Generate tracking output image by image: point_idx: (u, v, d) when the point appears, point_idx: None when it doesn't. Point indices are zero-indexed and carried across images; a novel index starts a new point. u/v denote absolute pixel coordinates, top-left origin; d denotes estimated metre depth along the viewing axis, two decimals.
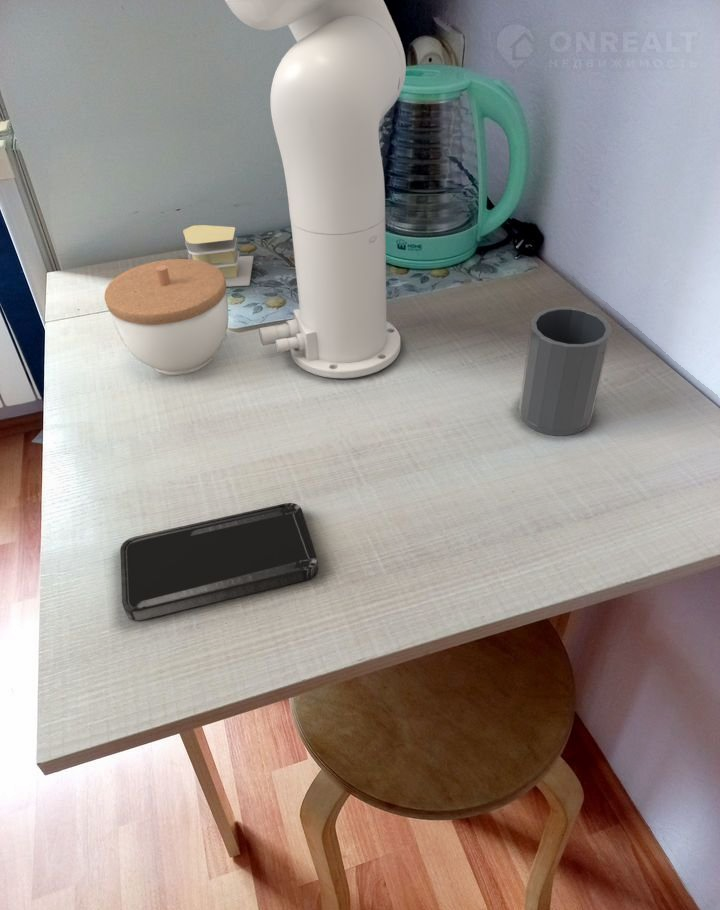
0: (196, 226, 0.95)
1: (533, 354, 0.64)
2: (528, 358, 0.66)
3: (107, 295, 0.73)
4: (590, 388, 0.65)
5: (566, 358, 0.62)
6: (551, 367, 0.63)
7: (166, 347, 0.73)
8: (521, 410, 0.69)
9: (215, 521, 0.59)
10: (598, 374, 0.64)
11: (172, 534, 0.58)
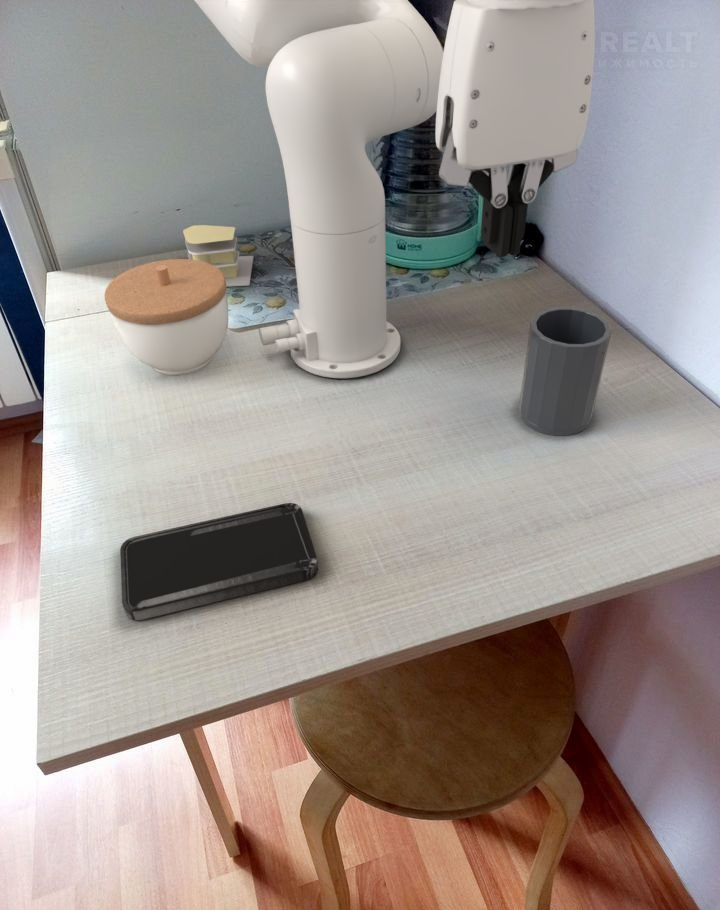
0: (196, 226, 0.95)
1: (533, 354, 0.64)
2: (528, 358, 0.66)
3: (107, 295, 0.73)
4: (590, 388, 0.65)
5: (566, 358, 0.62)
6: (551, 367, 0.63)
7: (166, 347, 0.73)
8: (521, 410, 0.69)
9: (215, 521, 0.59)
10: (598, 374, 0.64)
11: (172, 534, 0.58)
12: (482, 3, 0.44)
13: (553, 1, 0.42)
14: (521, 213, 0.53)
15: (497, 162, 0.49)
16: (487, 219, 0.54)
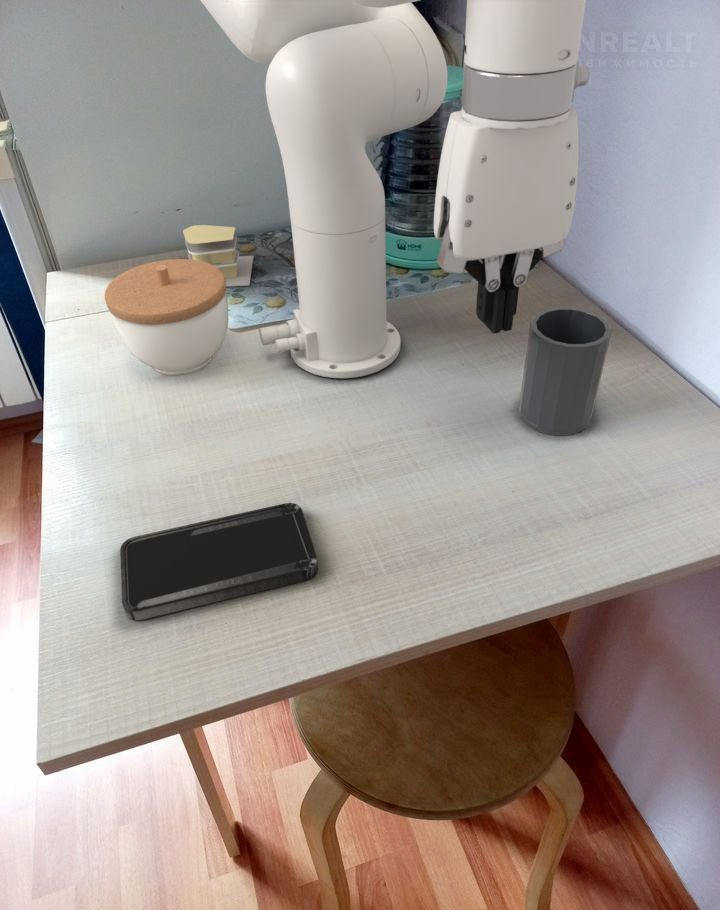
0: (196, 226, 0.95)
1: (533, 354, 0.64)
2: (528, 358, 0.66)
3: (107, 295, 0.73)
4: (590, 388, 0.65)
5: (566, 358, 0.62)
6: (551, 367, 0.63)
7: (166, 347, 0.73)
8: (521, 410, 0.69)
9: (215, 521, 0.59)
10: (598, 374, 0.64)
11: (172, 533, 0.58)
12: (475, 121, 0.48)
13: (539, 122, 0.47)
14: (513, 295, 0.58)
15: (490, 254, 0.54)
16: (482, 299, 0.59)
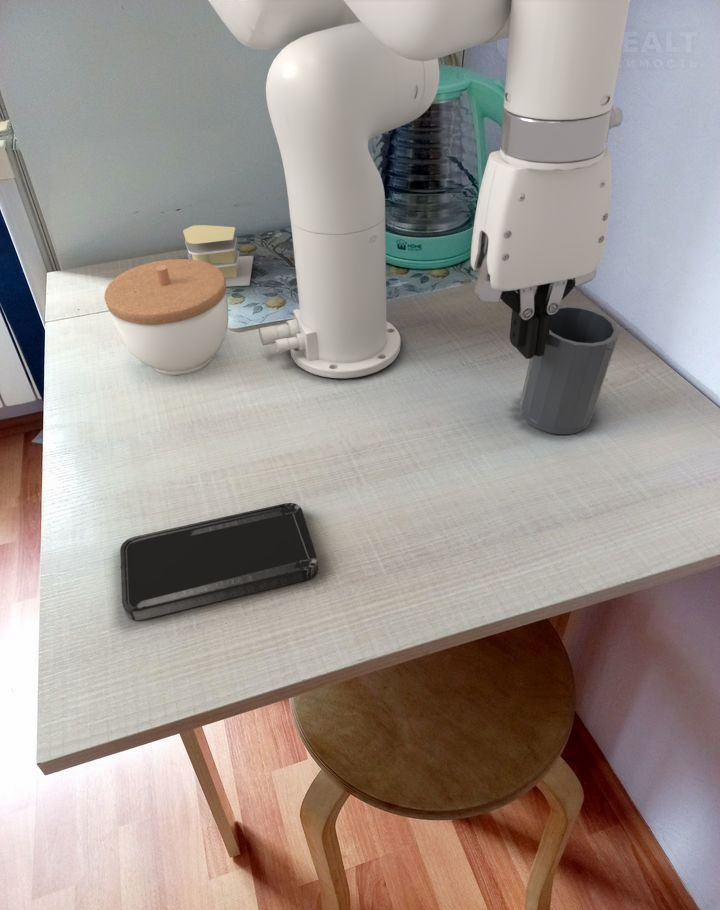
0: (196, 226, 0.95)
1: None
2: None
3: (107, 295, 0.73)
4: (594, 387, 0.65)
5: (574, 356, 0.62)
6: (558, 365, 0.63)
7: (166, 347, 0.73)
8: (522, 407, 0.69)
9: (215, 521, 0.59)
10: (603, 374, 0.64)
11: (172, 533, 0.58)
12: (514, 162, 0.51)
13: (576, 164, 0.49)
14: (546, 323, 0.60)
15: (526, 285, 0.56)
16: (515, 326, 0.61)
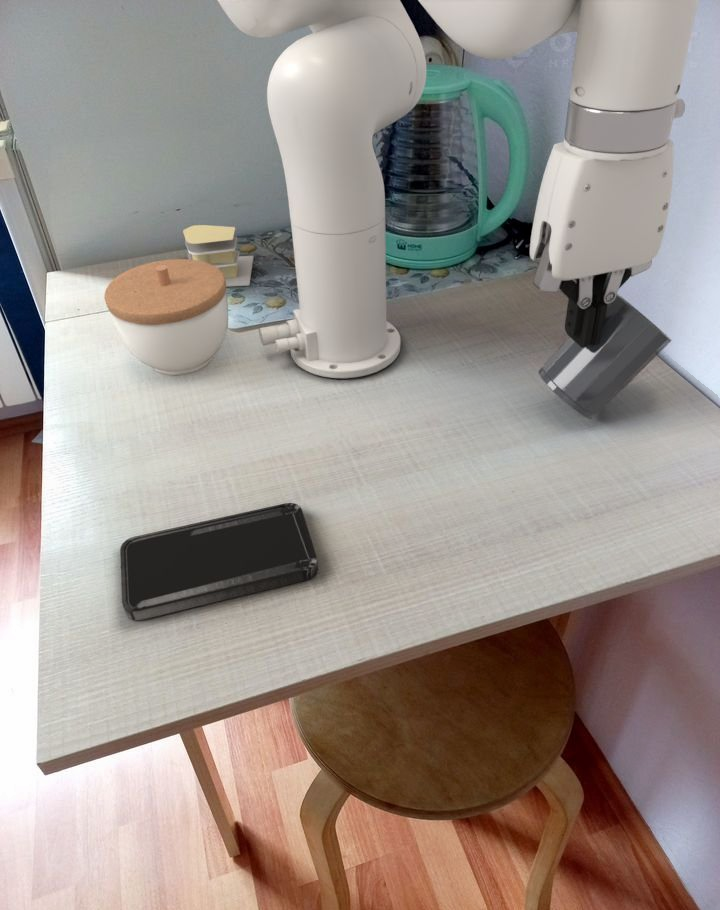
0: (196, 226, 0.95)
1: None
2: None
3: (107, 295, 0.73)
4: (629, 378, 0.65)
5: (639, 333, 0.62)
6: (619, 335, 0.63)
7: (166, 347, 0.73)
8: (548, 371, 0.67)
9: (215, 521, 0.59)
10: (640, 370, 0.66)
11: (171, 533, 0.58)
12: (580, 153, 0.52)
13: (643, 154, 0.50)
14: (603, 312, 0.61)
15: (586, 274, 0.58)
16: (572, 316, 0.62)
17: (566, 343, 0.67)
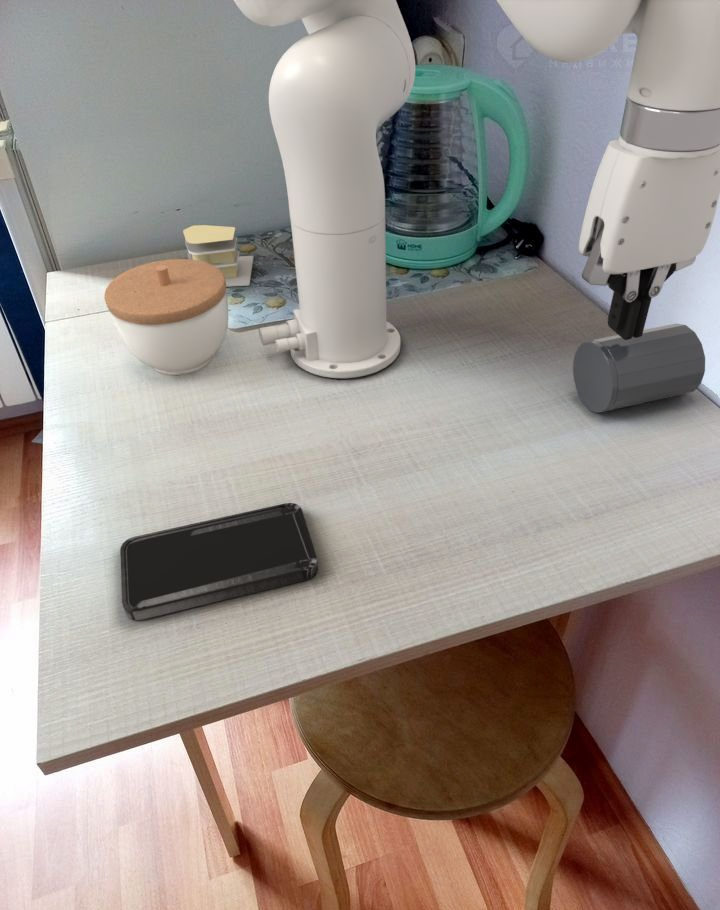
0: (196, 226, 0.95)
1: (671, 332, 0.68)
2: (658, 330, 0.68)
3: (107, 295, 0.73)
4: (657, 394, 0.68)
5: (694, 360, 0.67)
6: (679, 350, 0.67)
7: (166, 347, 0.73)
8: (604, 342, 0.67)
9: (215, 521, 0.59)
10: (662, 397, 0.69)
11: (172, 533, 0.58)
12: (638, 151, 0.54)
13: (699, 153, 0.52)
14: (647, 305, 0.63)
15: (635, 268, 0.59)
16: (616, 309, 0.64)
17: None
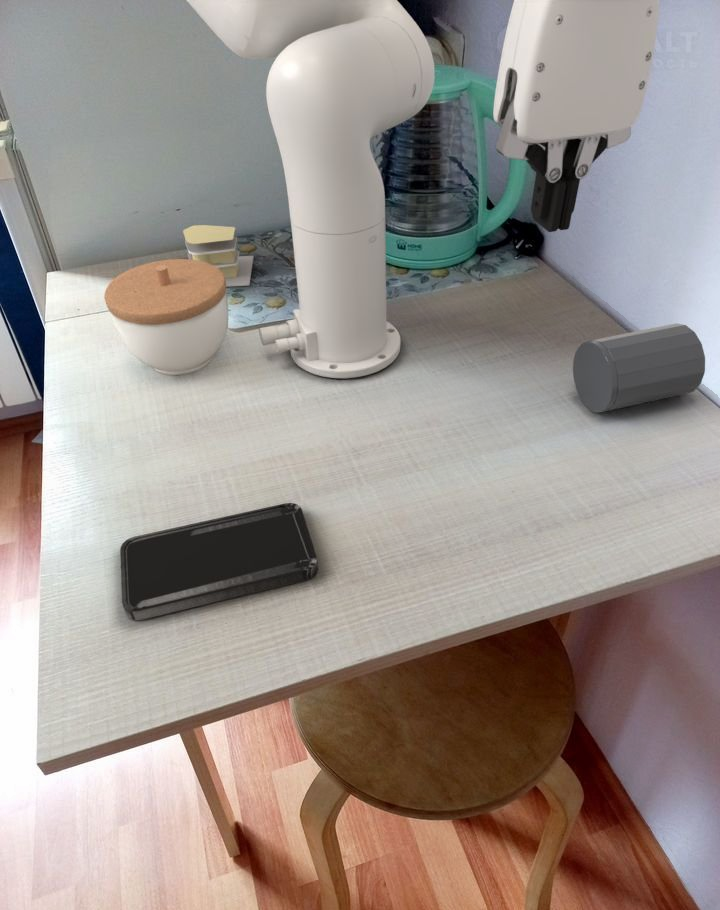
0: (196, 226, 0.95)
1: (671, 332, 0.68)
2: (658, 330, 0.68)
3: (107, 295, 0.73)
4: (657, 394, 0.68)
5: (694, 360, 0.67)
6: (679, 350, 0.67)
7: (166, 347, 0.73)
8: (603, 342, 0.67)
9: (215, 521, 0.59)
10: (661, 397, 0.69)
11: (172, 533, 0.58)
12: None
13: None
14: (574, 188, 0.54)
15: (556, 136, 0.50)
16: (539, 193, 0.55)
17: (624, 334, 0.69)
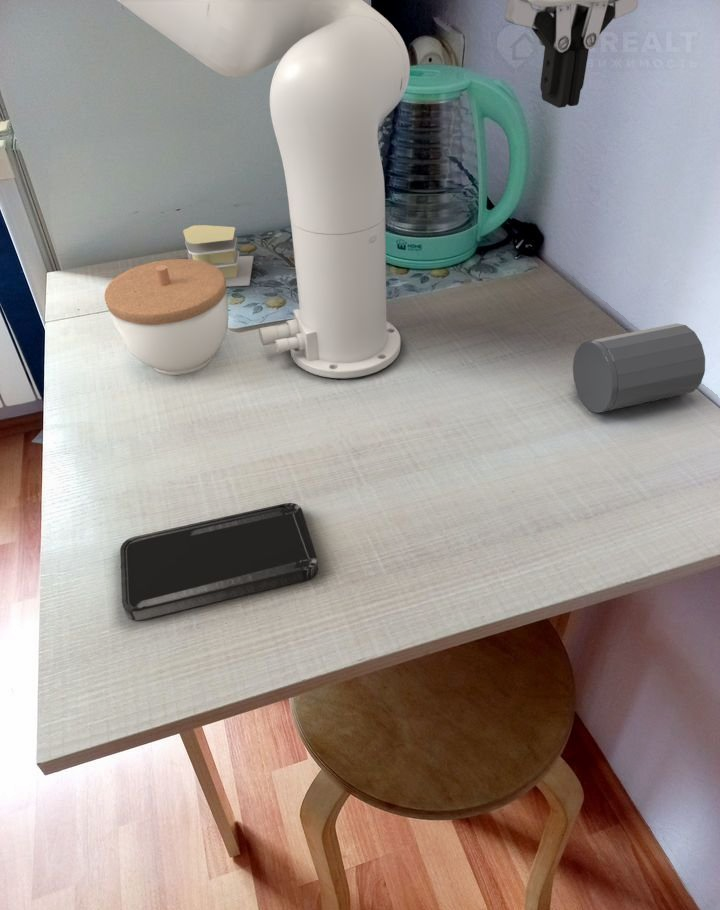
0: (196, 226, 0.95)
1: (671, 332, 0.68)
2: (658, 330, 0.68)
3: (107, 295, 0.73)
4: (657, 394, 0.68)
5: (694, 360, 0.67)
6: (679, 350, 0.67)
7: (166, 347, 0.73)
8: (603, 342, 0.67)
9: (215, 521, 0.59)
10: (661, 397, 0.69)
11: (172, 533, 0.58)
12: None
13: None
14: (582, 59, 0.54)
15: None
16: (548, 67, 0.56)
17: (624, 334, 0.69)
